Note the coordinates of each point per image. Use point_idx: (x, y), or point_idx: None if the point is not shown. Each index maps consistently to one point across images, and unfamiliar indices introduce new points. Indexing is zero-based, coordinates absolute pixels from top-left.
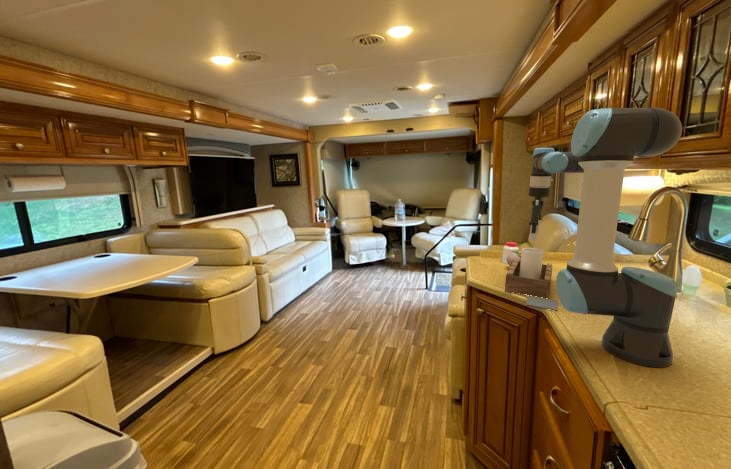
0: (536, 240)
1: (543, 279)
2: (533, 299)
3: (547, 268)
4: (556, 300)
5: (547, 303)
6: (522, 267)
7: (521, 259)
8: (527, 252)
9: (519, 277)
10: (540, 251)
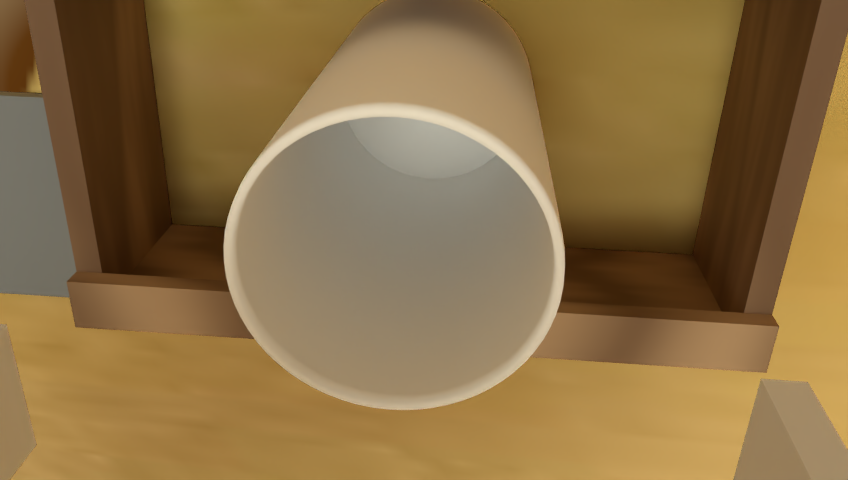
0: (18, 453)
1: (702, 218)
2: (29, 140)
3: None
4: None
5: (19, 235)
6: (328, 65)
7: (351, 66)
8: (238, 192)
9: (32, 40)
10: (490, 360)
